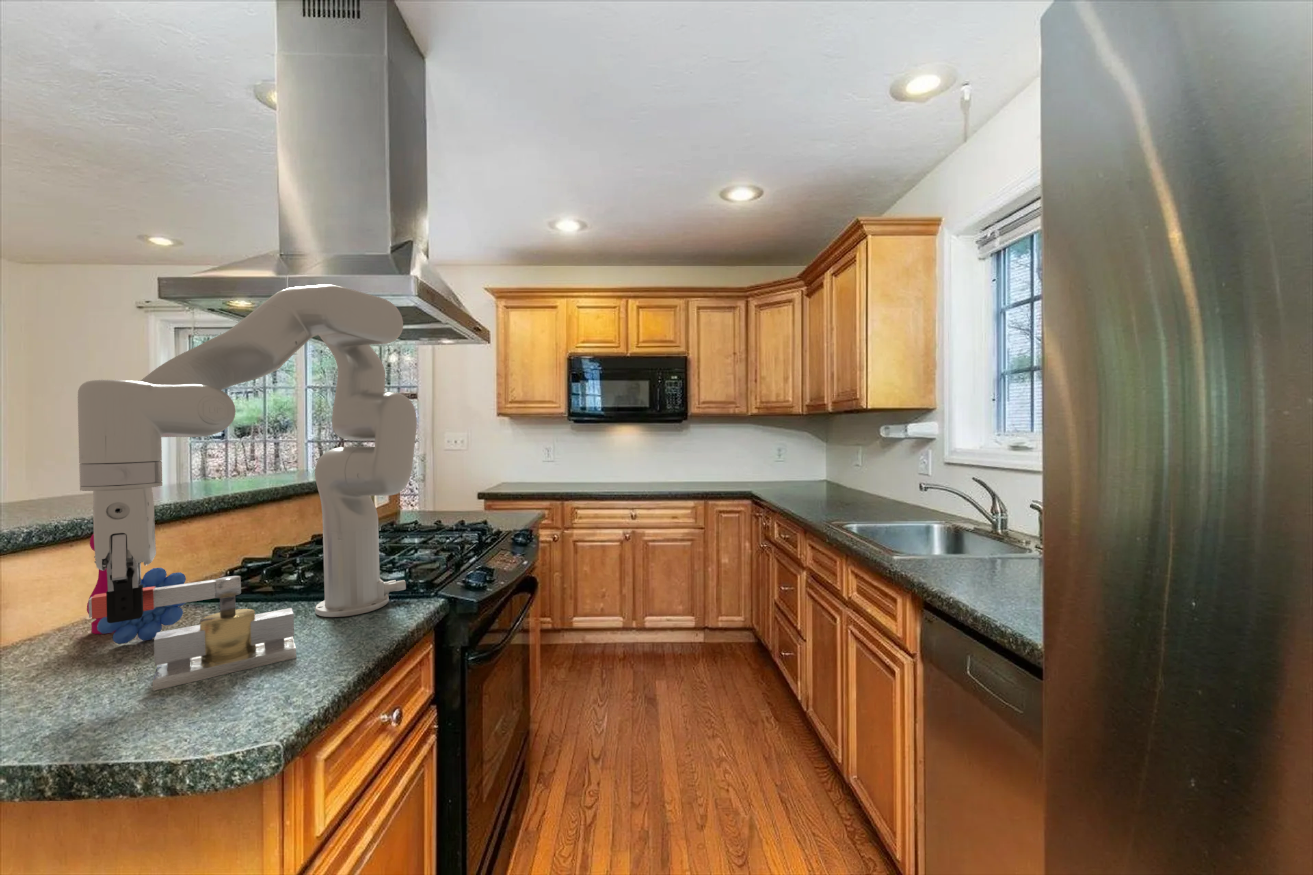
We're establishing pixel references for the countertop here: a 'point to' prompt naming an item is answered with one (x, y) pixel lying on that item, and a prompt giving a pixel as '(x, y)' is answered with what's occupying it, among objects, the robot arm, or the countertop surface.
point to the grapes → (147, 612)
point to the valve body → (223, 645)
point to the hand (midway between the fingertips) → (125, 618)
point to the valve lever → (174, 594)
